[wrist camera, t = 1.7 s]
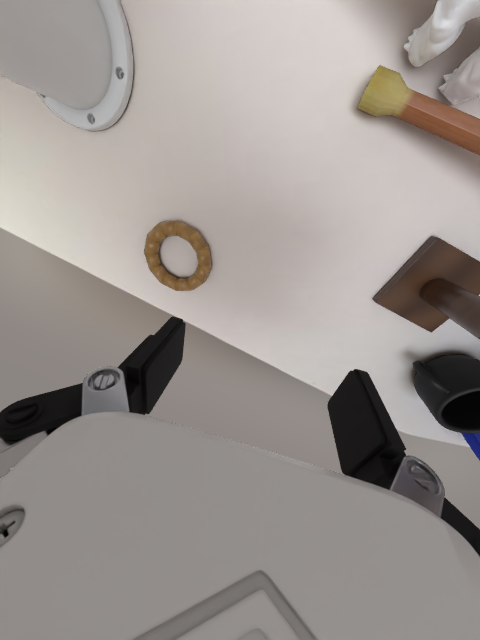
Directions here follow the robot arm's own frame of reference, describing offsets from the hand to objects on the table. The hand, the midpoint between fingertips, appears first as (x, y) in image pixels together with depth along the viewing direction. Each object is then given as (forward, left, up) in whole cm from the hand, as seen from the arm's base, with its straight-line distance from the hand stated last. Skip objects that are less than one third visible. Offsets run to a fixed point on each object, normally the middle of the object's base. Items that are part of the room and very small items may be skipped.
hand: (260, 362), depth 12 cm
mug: (+30, -2, -20) cm, 36 cm away
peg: (+19, +7, -20) cm, 28 cm away
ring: (-12, -5, -19) cm, 23 cm away
